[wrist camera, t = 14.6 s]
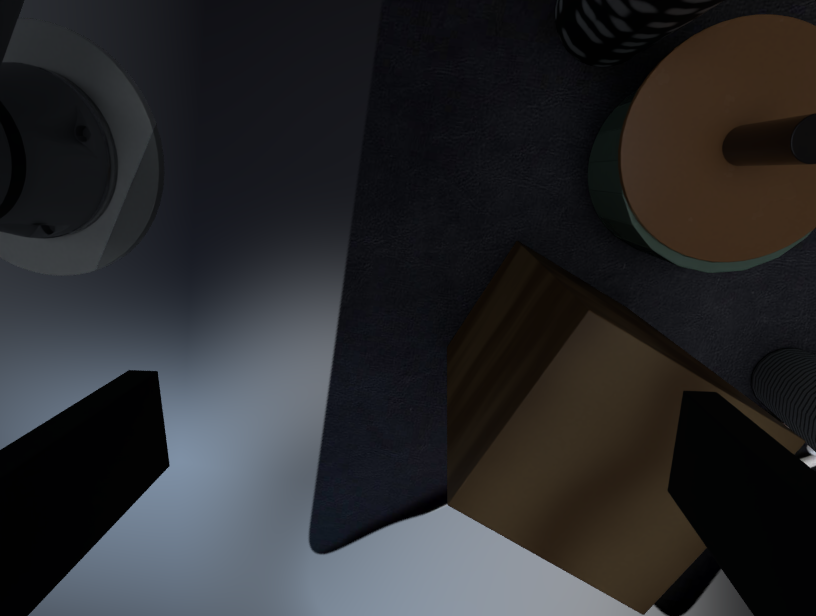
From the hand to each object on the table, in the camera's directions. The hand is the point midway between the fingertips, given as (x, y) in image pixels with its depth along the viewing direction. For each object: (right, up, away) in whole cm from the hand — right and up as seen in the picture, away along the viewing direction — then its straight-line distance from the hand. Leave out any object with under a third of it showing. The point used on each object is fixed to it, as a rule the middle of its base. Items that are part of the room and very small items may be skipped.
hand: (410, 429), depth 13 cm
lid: (+22, +14, +21) cm, 34 cm away
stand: (+12, +1, +35) cm, 37 cm away
